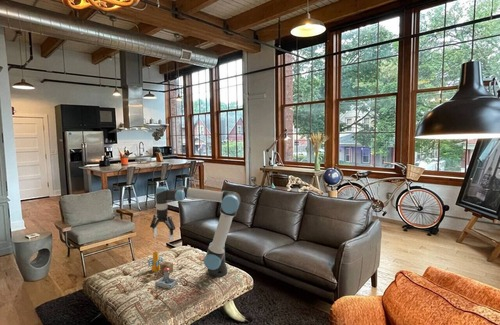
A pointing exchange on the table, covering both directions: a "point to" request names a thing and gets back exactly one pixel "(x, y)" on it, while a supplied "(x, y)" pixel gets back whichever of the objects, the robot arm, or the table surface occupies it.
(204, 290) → the table surface
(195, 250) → the table surface
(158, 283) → the tray
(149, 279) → the socket block
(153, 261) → the cylinder
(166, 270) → the pin
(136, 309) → the table surface
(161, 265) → the block
